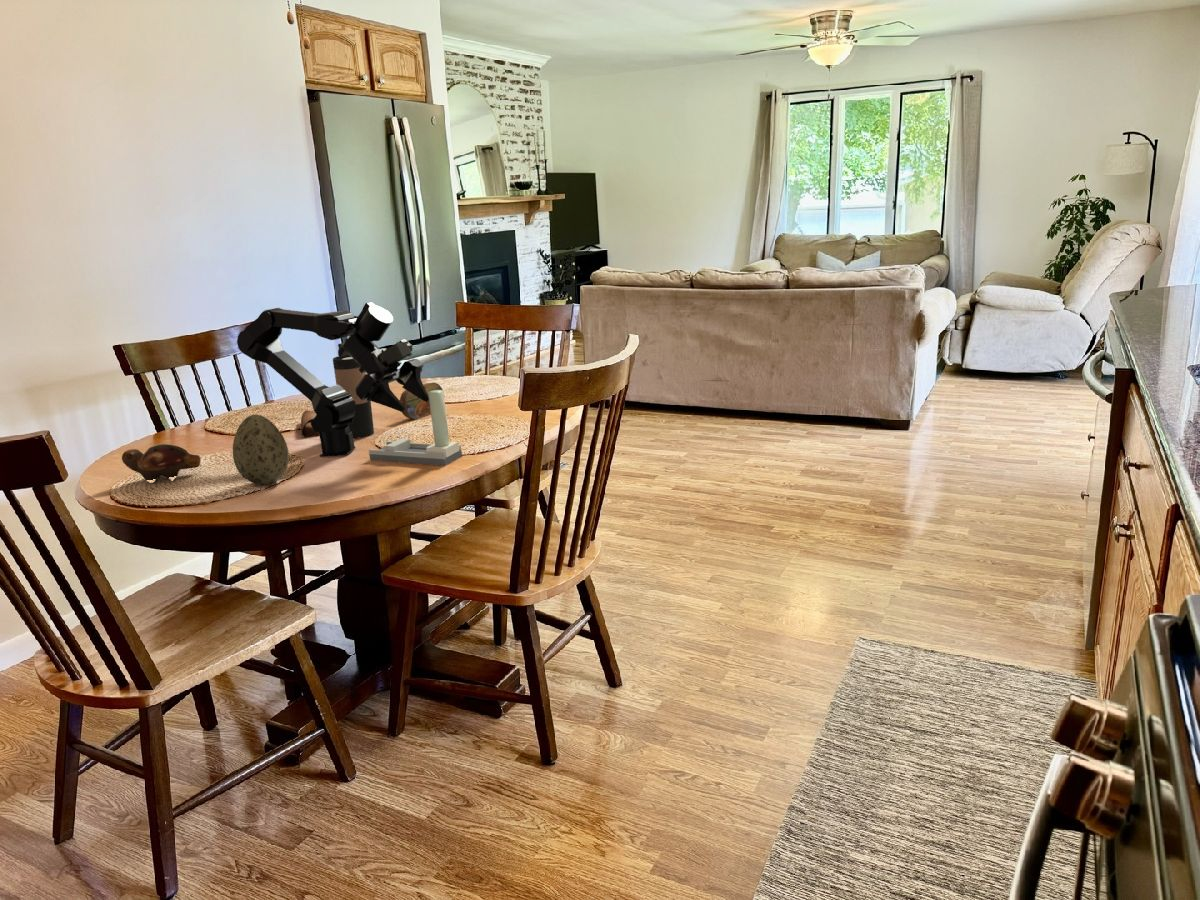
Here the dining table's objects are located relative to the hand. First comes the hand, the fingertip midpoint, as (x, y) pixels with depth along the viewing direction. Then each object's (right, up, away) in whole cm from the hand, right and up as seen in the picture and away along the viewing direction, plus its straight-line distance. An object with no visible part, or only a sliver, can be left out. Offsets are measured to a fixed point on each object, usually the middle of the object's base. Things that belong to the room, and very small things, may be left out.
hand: (416, 405), depth 182 cm
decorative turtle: (-56, -16, +1) cm, 58 cm away
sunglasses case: (-34, -5, +38) cm, 51 cm away
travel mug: (-21, -6, +28) cm, 35 cm away
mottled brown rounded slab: (-8, 0, +45) cm, 45 cm away
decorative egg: (-30, -17, -7) cm, 35 cm away
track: (-1, -12, +4) cm, 13 cm away
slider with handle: (+6, -11, +1) cm, 12 cm away
